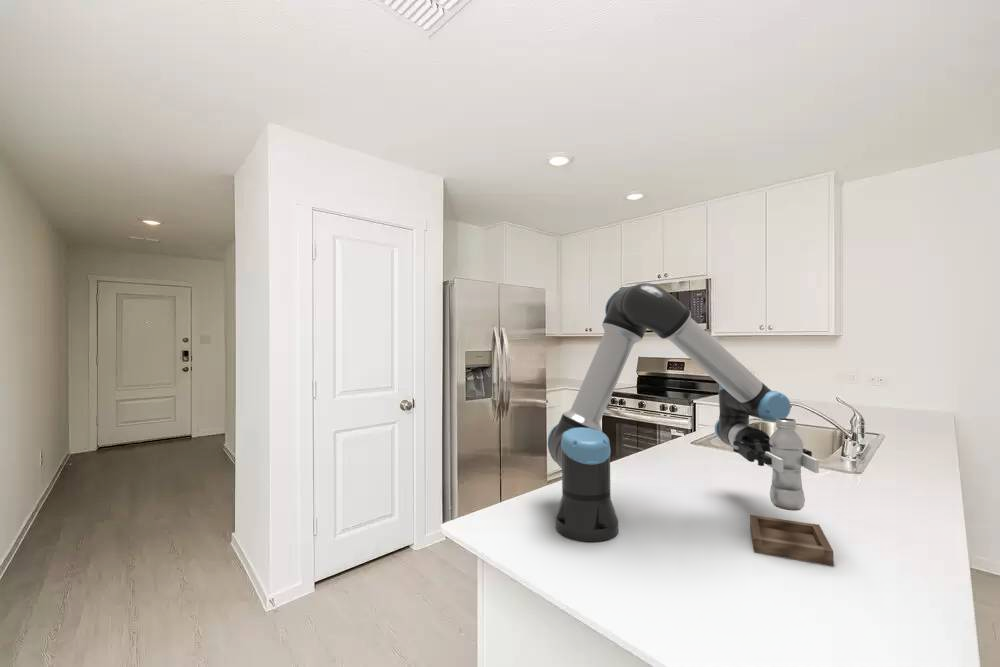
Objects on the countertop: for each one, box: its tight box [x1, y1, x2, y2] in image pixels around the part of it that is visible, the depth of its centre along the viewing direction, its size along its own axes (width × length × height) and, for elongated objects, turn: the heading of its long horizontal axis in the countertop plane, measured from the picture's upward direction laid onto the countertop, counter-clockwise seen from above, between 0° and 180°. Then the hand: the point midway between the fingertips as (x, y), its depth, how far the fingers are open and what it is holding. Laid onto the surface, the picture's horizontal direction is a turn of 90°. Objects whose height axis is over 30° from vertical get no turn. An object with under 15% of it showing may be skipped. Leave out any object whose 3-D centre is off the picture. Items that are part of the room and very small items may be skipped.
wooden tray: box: [749, 514, 835, 567], centre depth 100 cm, size 14×14×3 cm
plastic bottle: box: [769, 417, 806, 512], centre depth 100 cm, size 6×7×20 cm
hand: (798, 466), depth 95 cm, fingers closed on plastic bottle, 6 cm apart
